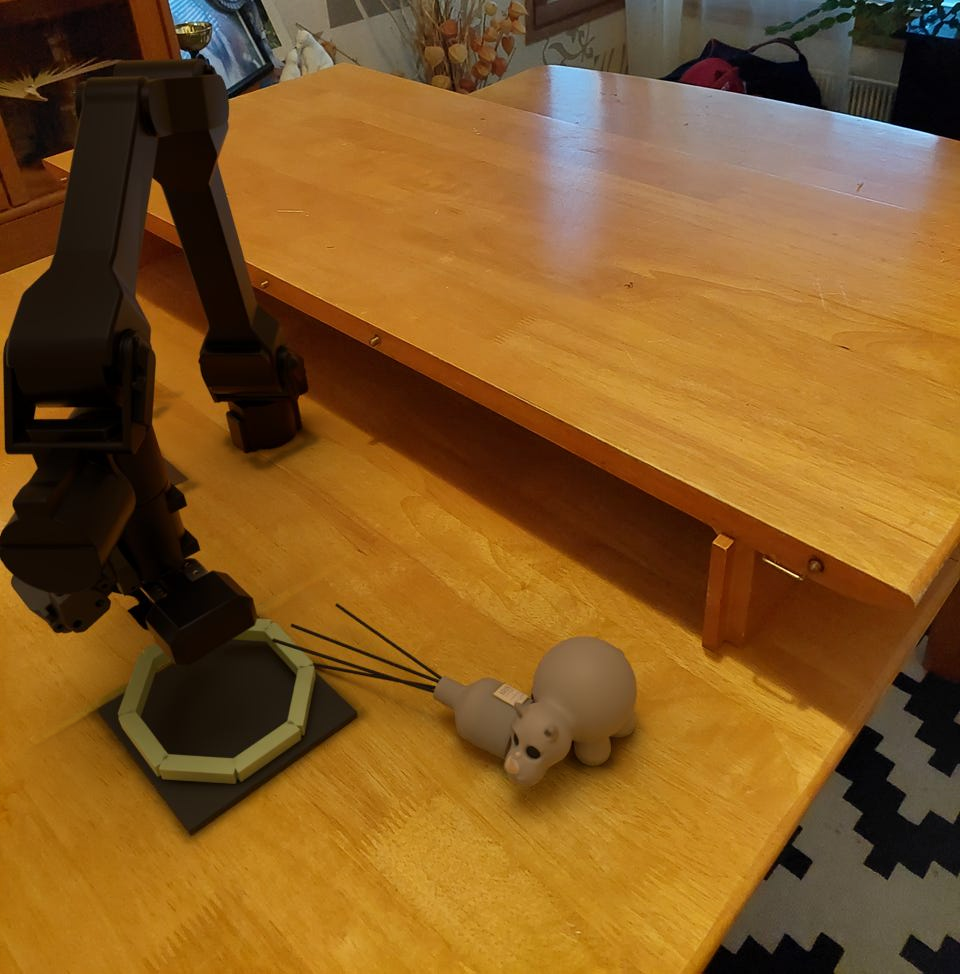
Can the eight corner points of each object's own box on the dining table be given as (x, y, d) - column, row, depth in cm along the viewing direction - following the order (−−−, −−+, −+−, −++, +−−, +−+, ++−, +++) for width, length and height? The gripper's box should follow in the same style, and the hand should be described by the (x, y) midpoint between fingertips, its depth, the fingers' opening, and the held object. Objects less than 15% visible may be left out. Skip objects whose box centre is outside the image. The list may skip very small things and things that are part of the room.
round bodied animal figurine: (467, 777, 65) (461, 699, 60) (575, 676, 72) (578, 599, 66) (545, 840, 61) (547, 764, 56) (652, 728, 68) (662, 650, 62)
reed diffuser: (512, 734, 60) (272, 605, 67) (485, 818, 62) (256, 684, 69) (570, 674, 69) (352, 565, 76) (545, 749, 71) (336, 637, 78)
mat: (257, 618, 77) (255, 613, 77) (358, 716, 69) (357, 711, 69) (99, 714, 70) (96, 709, 70) (191, 835, 62) (188, 830, 62)
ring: (248, 600, 75) (246, 589, 74) (346, 707, 69) (346, 697, 68) (95, 691, 69) (90, 680, 68) (188, 819, 62) (185, 810, 61)
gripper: (-49, 477, 63) (28, 634, 73) (66, 622, 52) (139, 783, 62) (105, 412, 69) (157, 565, 78) (238, 529, 58) (279, 690, 67)
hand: (179, 643), depth 71 cm, fingers closed on ring, 1 cm apart
